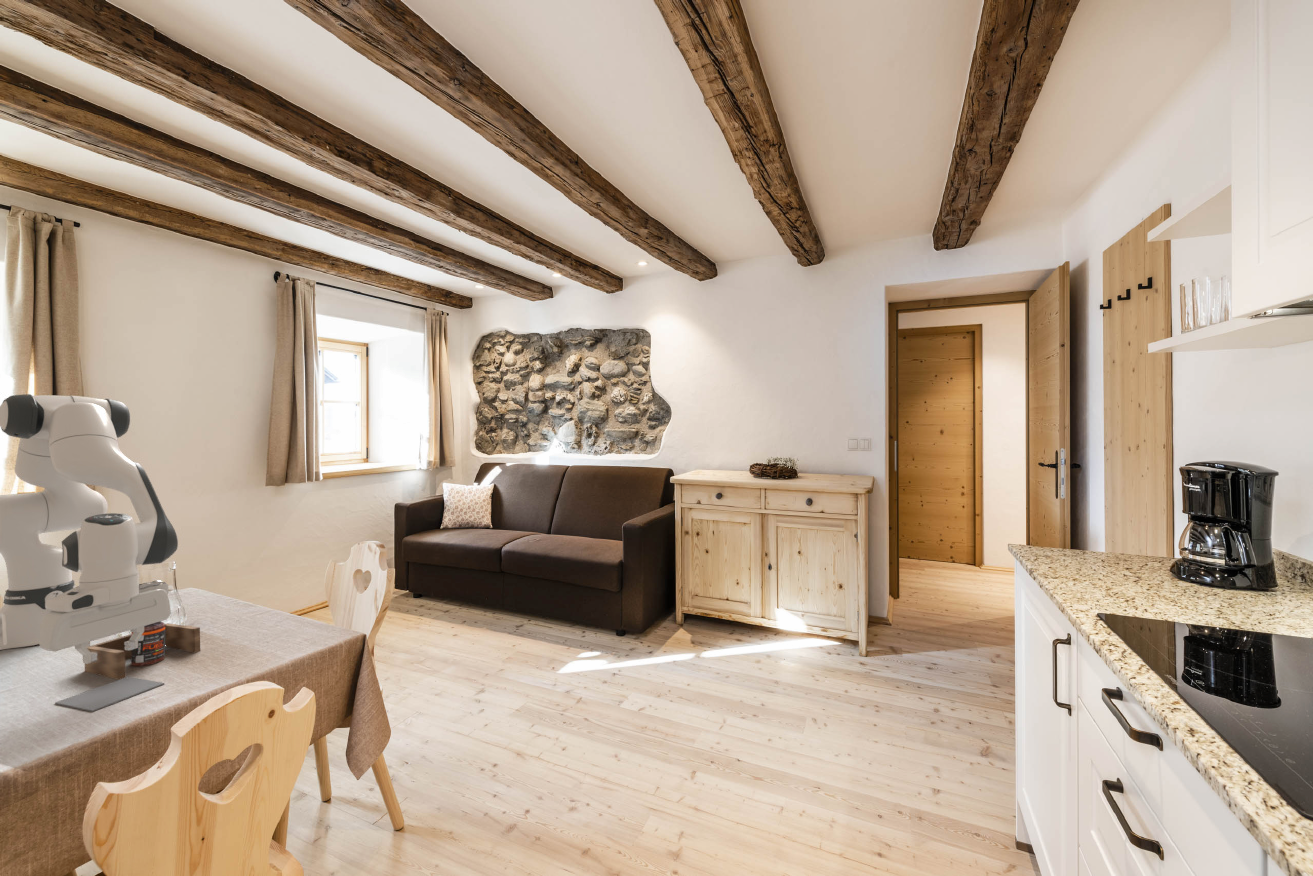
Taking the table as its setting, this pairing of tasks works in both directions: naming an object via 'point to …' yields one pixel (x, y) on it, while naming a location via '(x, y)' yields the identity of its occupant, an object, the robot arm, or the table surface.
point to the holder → (115, 654)
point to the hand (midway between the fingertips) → (111, 655)
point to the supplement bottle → (150, 645)
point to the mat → (109, 694)
